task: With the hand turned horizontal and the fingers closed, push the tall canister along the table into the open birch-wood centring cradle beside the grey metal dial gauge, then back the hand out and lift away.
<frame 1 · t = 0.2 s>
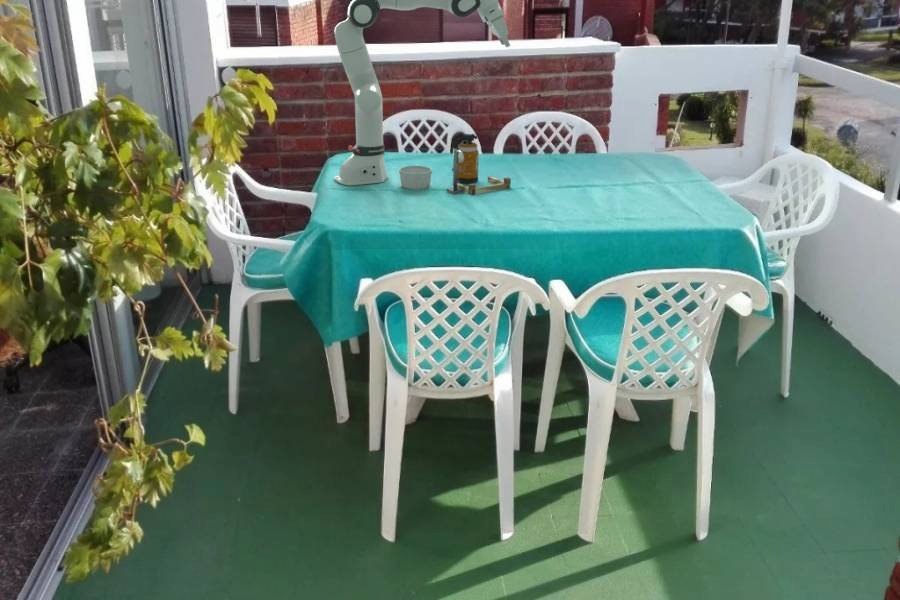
hand: (506, 45, 338), 53 cm above the table, tool tilted 25°, fingers open, 8 cm apart
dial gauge: (455, 192, 334), on the table
cradle: (477, 186, 342), on the table
canister: (464, 181, 349), on the table
ramekin: (415, 186, 342), on the table
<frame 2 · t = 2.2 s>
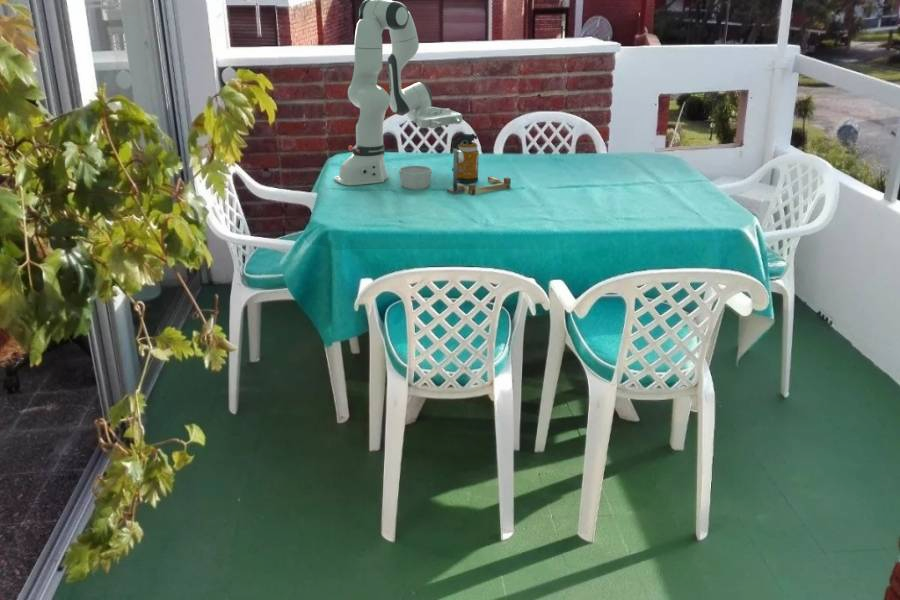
hand: (449, 123, 349), 22 cm above the table, tool horizontal, fingers open, 8 cm apart
nothing on the table moved.
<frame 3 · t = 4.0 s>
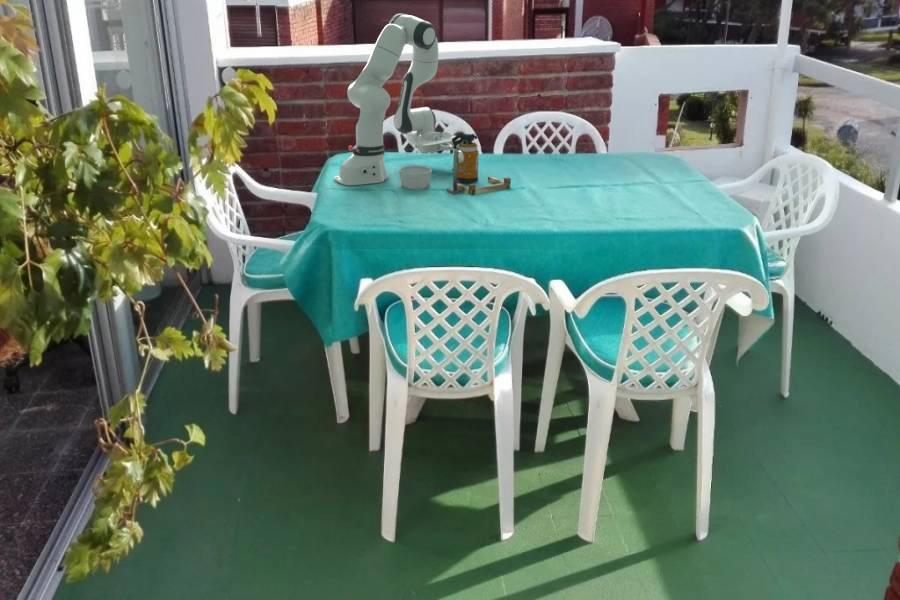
hand: (450, 148, 354), 12 cm above the table, tool horizontal, fingers closed
nothing on the table moved.
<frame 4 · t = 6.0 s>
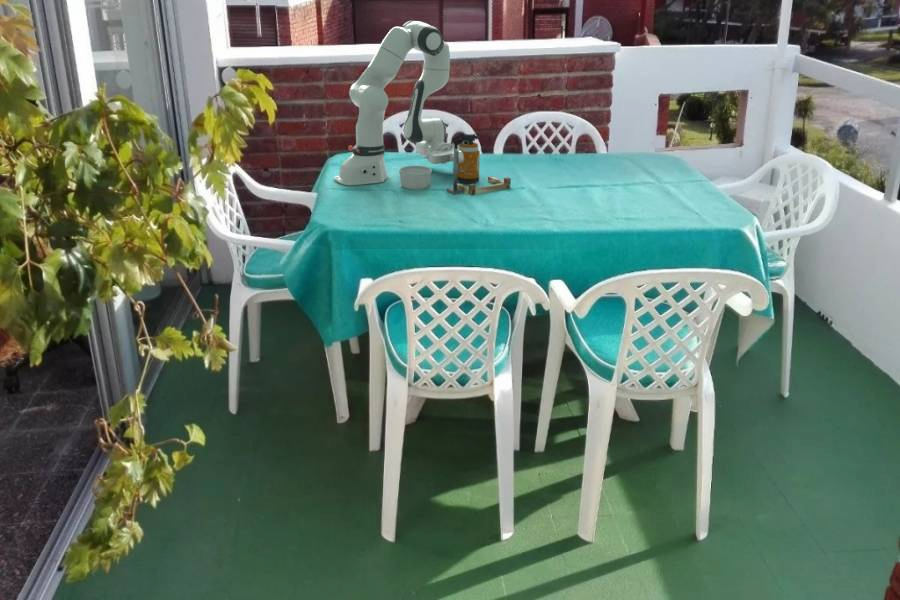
hand: (460, 159, 348), 9 cm above the table, tool horizontal, fingers closed, pressing on canister
canister: (465, 182, 349), on the table, touching gripper
everything else where it was.
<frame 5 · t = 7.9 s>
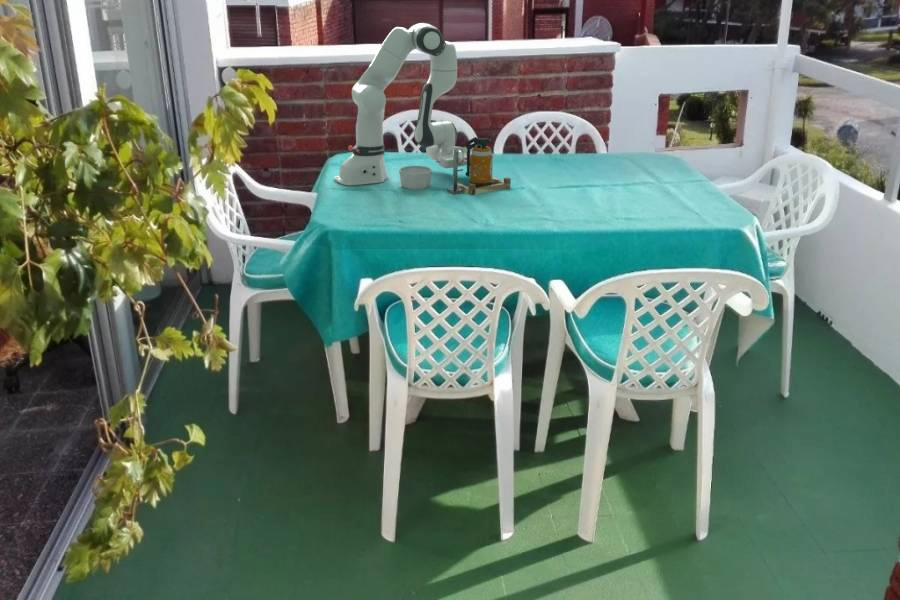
hand: (472, 163, 342), 9 cm above the table, tool horizontal, fingers closed, pressing on canister
canister: (478, 186, 342), on the table, touching gripper
everything else where it was.
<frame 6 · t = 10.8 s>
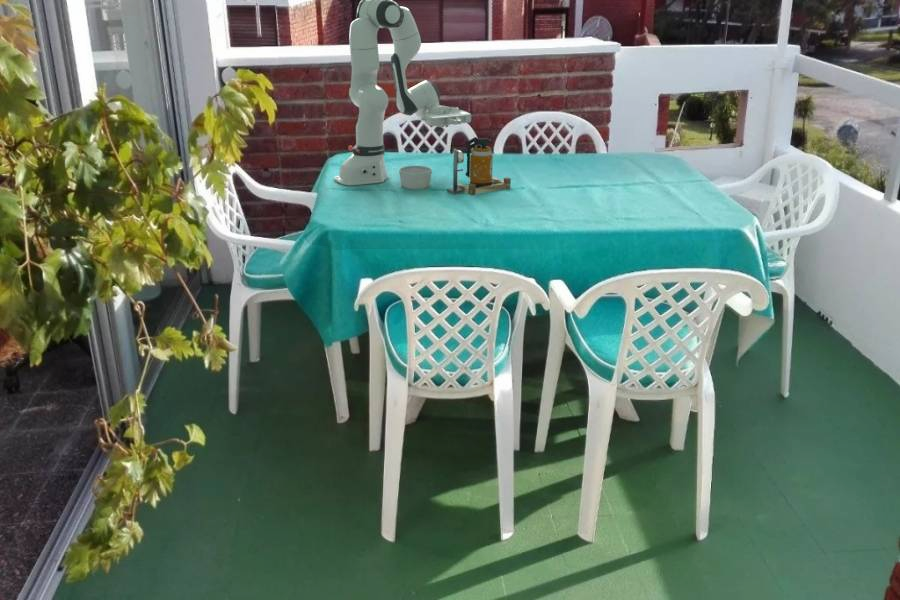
hand: (458, 122, 343), 24 cm above the table, tool horizontal, fingers closed
canister: (478, 186, 342), on the table
everything else where it was.
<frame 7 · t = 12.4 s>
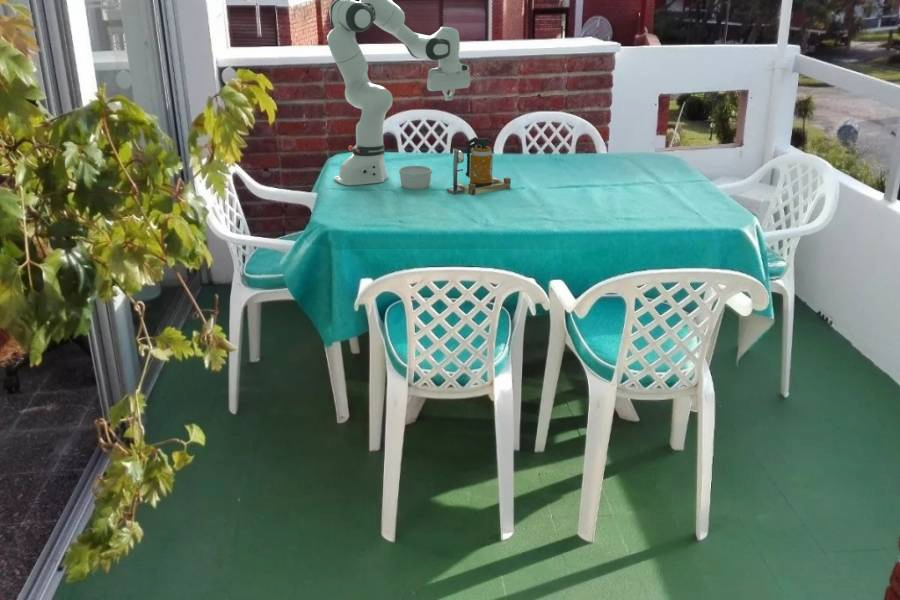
hand: (448, 100, 360), 29 cm above the table, tool pointing down, fingers closed
nothing on the table moved.
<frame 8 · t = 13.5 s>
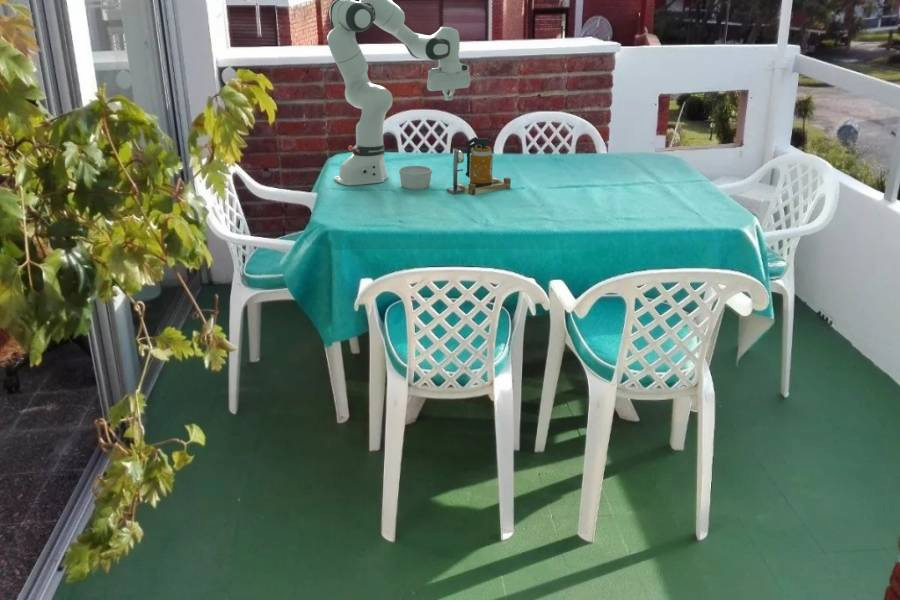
hand: (448, 100, 360), 29 cm above the table, tool pointing down, fingers closed
nothing on the table moved.
at the end: canister inside the target area on the cradle (2.4 cm from its centre), point 0.0 cm above the cradle's base; canister tilted 0°; canister moved 9.1 cm from its start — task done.
